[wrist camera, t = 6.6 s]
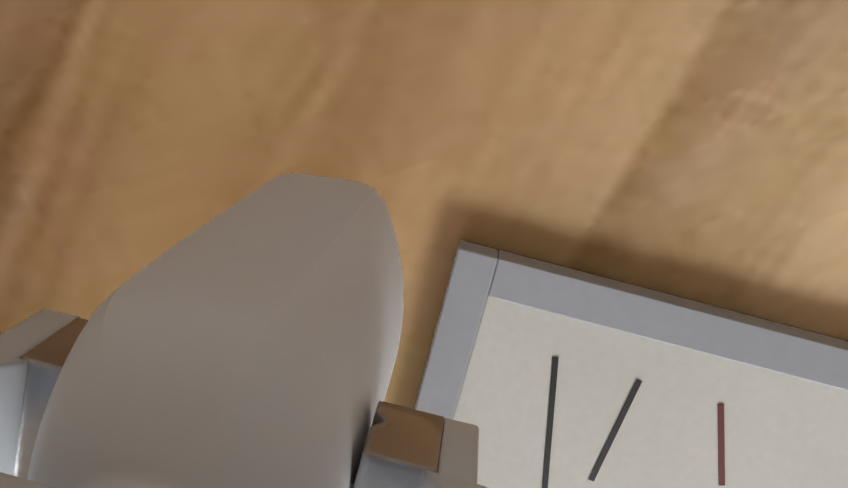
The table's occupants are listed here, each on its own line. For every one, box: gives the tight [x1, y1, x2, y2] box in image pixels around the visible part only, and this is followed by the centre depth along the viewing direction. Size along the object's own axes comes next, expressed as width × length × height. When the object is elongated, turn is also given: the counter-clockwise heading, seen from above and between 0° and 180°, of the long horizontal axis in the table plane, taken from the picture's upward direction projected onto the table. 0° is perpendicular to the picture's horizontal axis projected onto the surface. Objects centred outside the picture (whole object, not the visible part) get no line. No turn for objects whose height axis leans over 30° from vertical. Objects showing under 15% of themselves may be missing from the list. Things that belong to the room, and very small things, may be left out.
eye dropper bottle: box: [27, 173, 404, 488], centre depth 10 cm, size 4×6×12 cm
